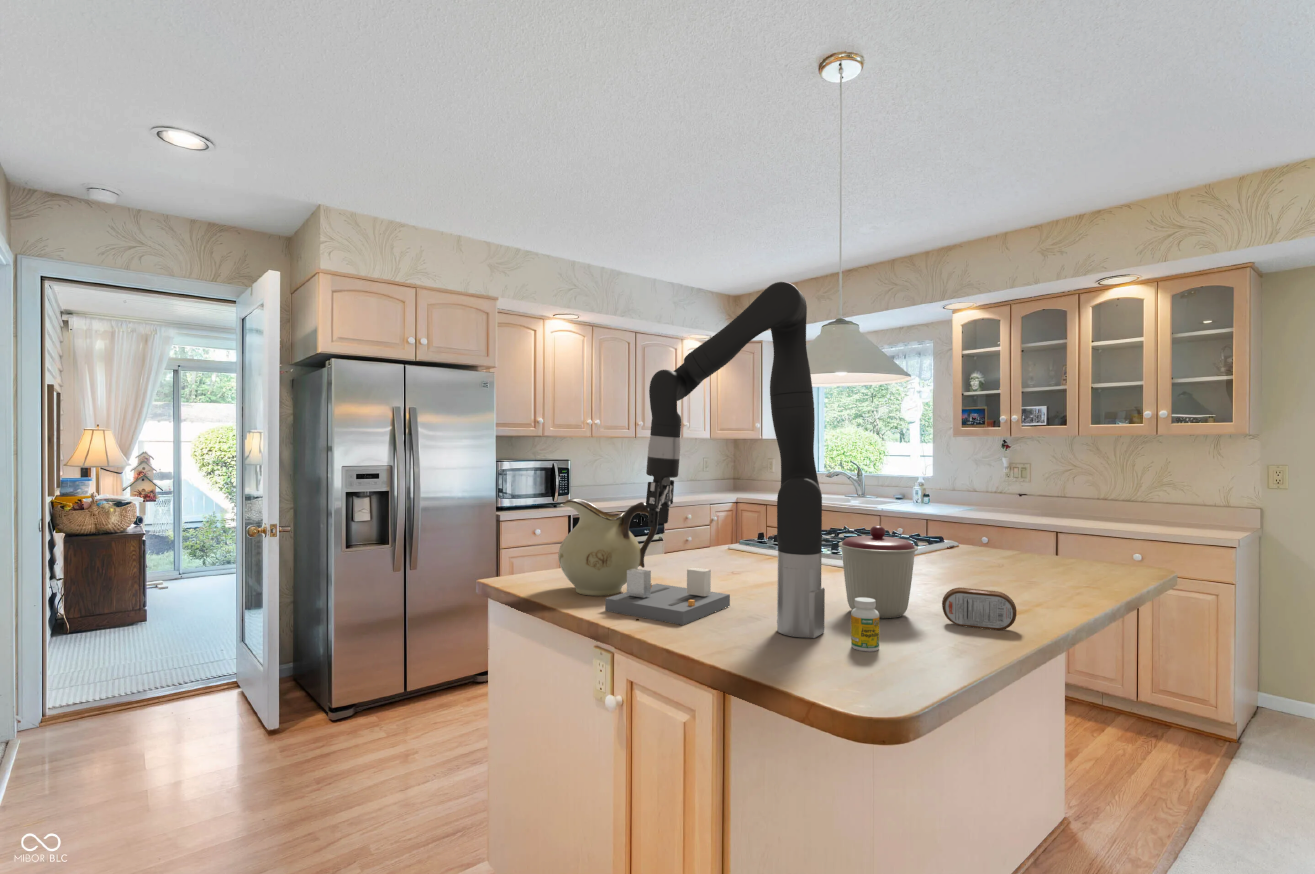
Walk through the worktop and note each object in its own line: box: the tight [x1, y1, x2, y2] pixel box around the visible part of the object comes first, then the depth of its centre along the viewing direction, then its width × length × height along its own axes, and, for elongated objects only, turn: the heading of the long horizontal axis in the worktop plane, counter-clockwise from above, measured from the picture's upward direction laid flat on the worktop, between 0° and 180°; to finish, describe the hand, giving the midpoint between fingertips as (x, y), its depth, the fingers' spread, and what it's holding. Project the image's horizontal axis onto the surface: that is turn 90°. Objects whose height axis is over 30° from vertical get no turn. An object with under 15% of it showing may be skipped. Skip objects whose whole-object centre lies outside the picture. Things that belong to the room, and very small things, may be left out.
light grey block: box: [626, 568, 652, 598], centre depth 160 cm, size 5×3×6 cm, turn 56°
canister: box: [838, 525, 919, 619], centre depth 159 cm, size 18×18×21 cm
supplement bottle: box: [850, 598, 880, 653], centre depth 131 cm, size 5×5×10 cm
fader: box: [686, 567, 712, 596], centre depth 163 cm, size 5×3×6 cm, turn 56°
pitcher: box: [558, 497, 659, 597], centre depth 181 cm, size 22×24×25 cm
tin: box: [941, 586, 1017, 631], centre depth 147 cm, size 15×3×8 cm, turn 65°
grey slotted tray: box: [604, 582, 731, 626], centre depth 161 cm, size 22×22×4 cm
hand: (658, 525), depth 154 cm, fingers open, 8 cm apart
